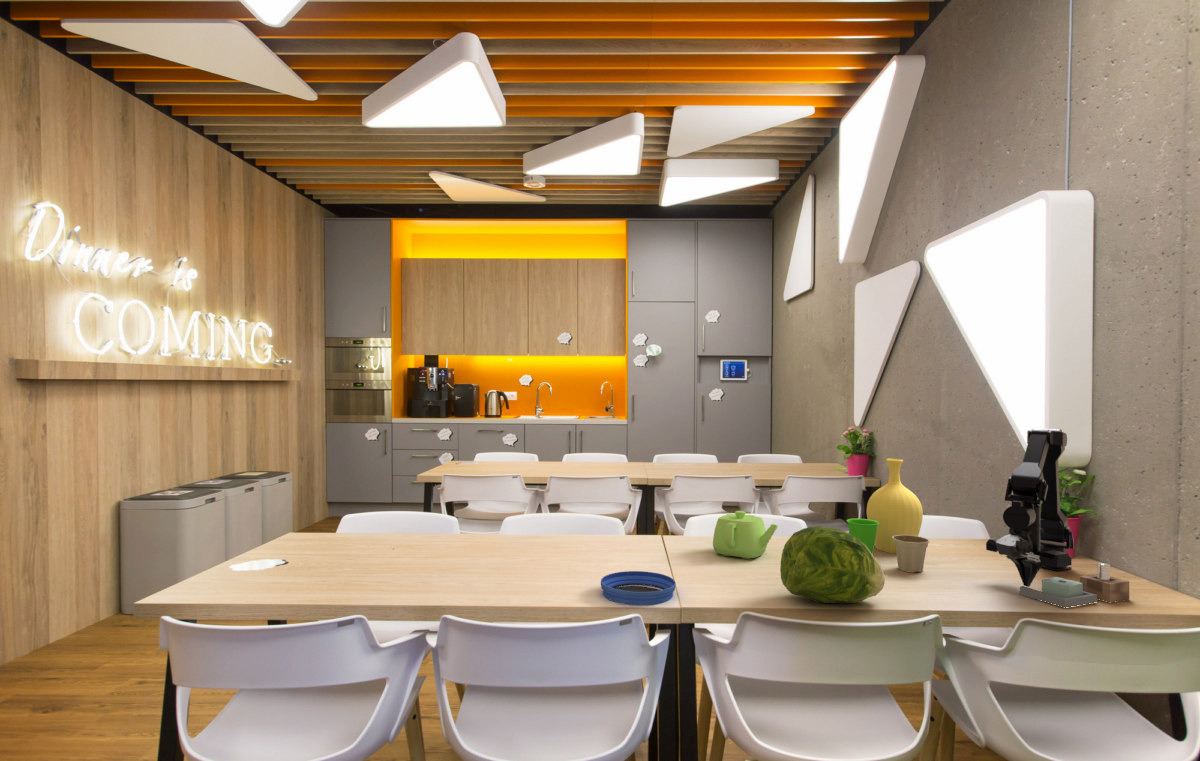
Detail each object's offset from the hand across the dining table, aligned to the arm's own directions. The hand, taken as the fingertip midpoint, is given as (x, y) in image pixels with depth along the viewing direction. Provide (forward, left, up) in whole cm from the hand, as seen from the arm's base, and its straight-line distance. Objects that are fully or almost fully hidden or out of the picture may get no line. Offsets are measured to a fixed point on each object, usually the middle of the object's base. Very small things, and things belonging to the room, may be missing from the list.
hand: (1026, 586), depth 170 cm
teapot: (+47, -53, -1) cm, 71 cm away
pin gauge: (-12, +11, -1) cm, 16 cm away
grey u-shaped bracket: (0, +8, -1) cm, 8 cm away
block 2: (-12, +11, -1) cm, 16 cm away
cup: (+17, -38, -1) cm, 42 cm away
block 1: (0, +9, -1) cm, 9 cm away
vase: (-1, -44, -1) cm, 44 cm away
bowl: (+93, -30, -1) cm, 98 cm away
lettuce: (+52, -10, -1) cm, 53 cm away
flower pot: (+13, -24, -1) cm, 27 cm away
